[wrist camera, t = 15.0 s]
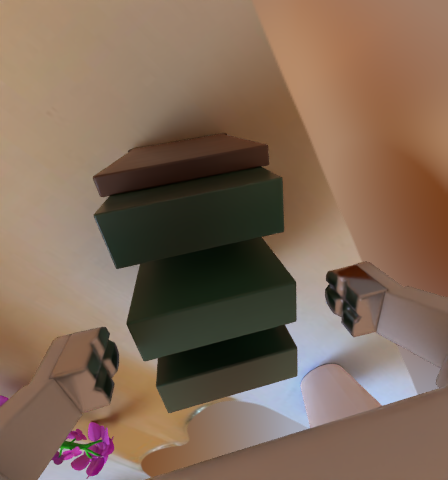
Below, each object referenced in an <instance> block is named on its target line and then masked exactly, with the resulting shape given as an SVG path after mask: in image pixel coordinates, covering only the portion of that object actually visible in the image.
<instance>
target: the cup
mask: <svg viewBox="0 0 448 480" xmlns="http://www.w3.org/2000/svg"><path fill="white" fill-rule="evenodd" d="M300 387H301V392H302V396H303V400H304V404H305V408H306V412H307V416H308V420H309V424H310V428H313V427H316V426H319V425H322V424H326V423H329V422H332V421H335V420H339V419H342V418H345V417H348V416H351V415H355V414H358V413H361V412H364V411H368V410H371V409H374V408H377V407H381V406H382V405H381V404H380V403H379V402H378V401H377V400H376V399H375V398H373V397H372V396H371V395H370V394H369V393H368V392H367V391H366V390H365V389H364V388H363V387H362V386H361V385H360V384H359V383H358V382H357V381H356V380H355V379H354V378H353V377H352V376H351V375H349V374H348V373H347V372H346V371H345V370H344V369H343V368H342V367H341V366H339V365H337V364H326V365H322V366H320V367H317V368H315V369H313V370H312V371H311V372H309V373H308V374H307V375H306V376H305V377H304V378H303V380H302V382H301V385H300Z"/></svg>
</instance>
